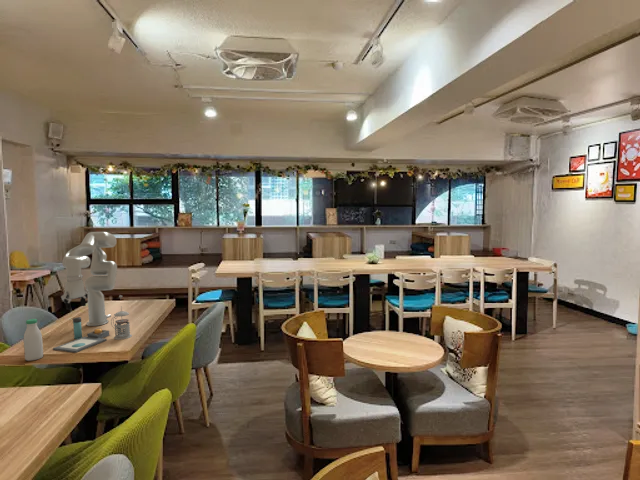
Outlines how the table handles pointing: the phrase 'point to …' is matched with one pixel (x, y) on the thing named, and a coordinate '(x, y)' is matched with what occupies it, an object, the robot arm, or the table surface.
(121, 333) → the french press
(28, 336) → the milk bottle
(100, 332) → the button
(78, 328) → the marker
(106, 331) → the button housing
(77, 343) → the drawing board
